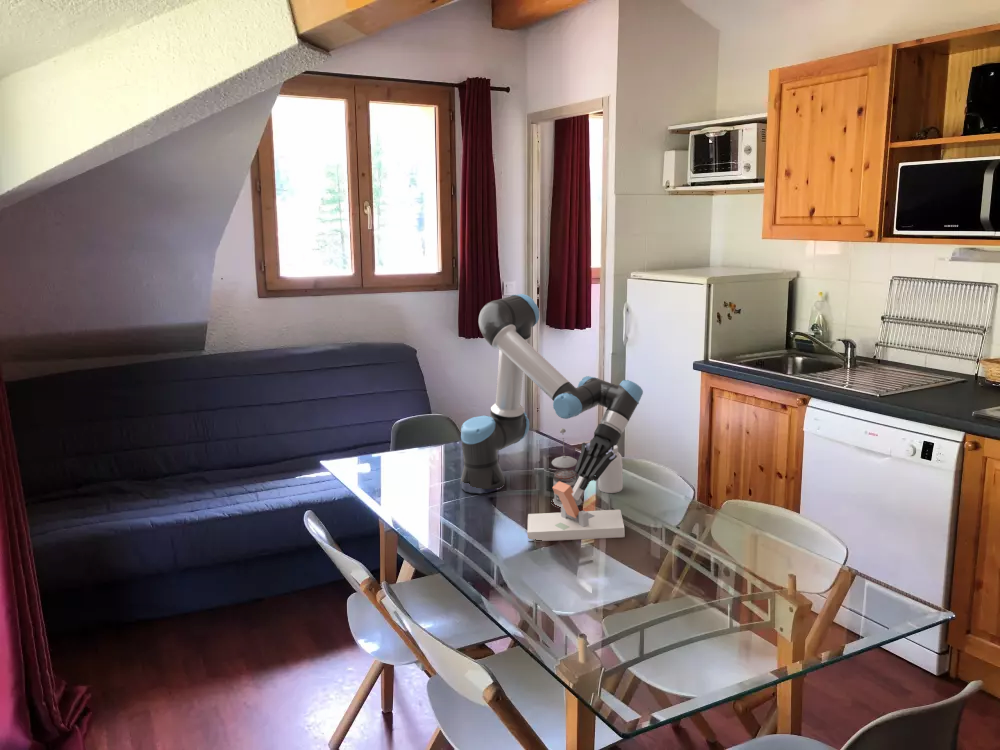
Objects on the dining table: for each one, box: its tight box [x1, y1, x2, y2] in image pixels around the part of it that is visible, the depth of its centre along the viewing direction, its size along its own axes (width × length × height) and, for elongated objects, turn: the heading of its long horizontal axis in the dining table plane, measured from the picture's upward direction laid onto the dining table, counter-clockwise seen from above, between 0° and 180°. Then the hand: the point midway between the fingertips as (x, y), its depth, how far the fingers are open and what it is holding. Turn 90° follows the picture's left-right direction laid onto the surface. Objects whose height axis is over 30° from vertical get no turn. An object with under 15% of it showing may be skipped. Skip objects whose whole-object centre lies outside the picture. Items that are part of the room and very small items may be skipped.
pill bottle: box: [597, 444, 624, 494], centre depth 262 cm, size 8×8×15 cm
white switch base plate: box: [527, 504, 626, 542], centre depth 237 cm, size 28×12×7 cm, turn 87°
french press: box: [551, 427, 583, 508], centre depth 254 cm, size 10×12×25 cm
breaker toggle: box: [551, 480, 580, 522], centre depth 235 cm, size 3×5×13 cm, turn 36°
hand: (573, 498), depth 234 cm, fingers closed
